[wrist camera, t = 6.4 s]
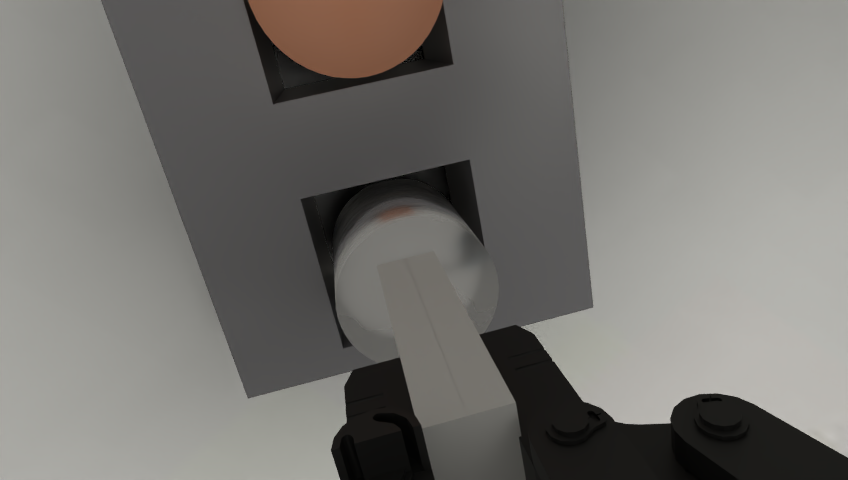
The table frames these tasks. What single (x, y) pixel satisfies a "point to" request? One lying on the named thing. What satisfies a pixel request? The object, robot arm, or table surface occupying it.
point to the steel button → (397, 239)
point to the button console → (357, 163)
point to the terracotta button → (347, 32)
